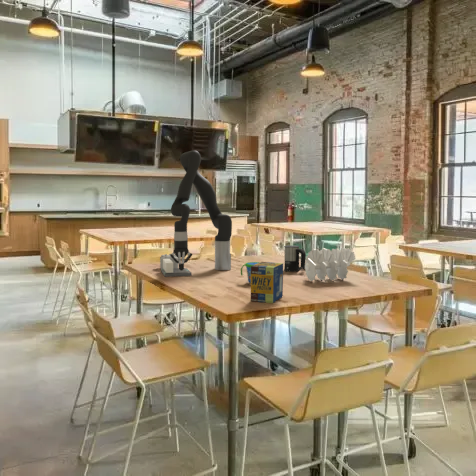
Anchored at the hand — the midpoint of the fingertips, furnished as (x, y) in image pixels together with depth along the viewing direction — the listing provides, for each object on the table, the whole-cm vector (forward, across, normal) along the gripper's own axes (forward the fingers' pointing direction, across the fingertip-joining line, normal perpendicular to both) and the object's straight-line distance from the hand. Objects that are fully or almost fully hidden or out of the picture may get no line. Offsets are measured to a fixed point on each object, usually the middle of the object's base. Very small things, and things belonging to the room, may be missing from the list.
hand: (181, 270), depth 296 cm
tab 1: (+1, +7, -13) cm, 14 cm away
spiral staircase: (+4, -74, +34) cm, 81 cm away
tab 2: (+1, +7, 0) cm, 7 cm away
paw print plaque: (+3, +4, -26) cm, 27 cm away
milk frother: (+4, -70, -4) cm, 70 cm away
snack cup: (+3, -35, +32) cm, 47 cm away
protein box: (+3, -29, +72) cm, 78 cm away
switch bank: (+3, +2, -6) cm, 7 cm away
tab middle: (+1, +7, -6) cm, 9 cm away
